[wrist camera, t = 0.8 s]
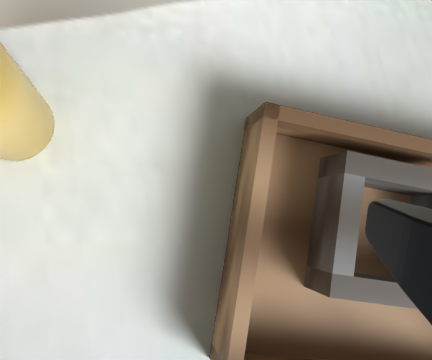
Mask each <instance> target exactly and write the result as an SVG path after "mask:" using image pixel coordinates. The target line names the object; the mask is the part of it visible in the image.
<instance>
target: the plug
mask: <svg viewBox="0 0 432 360" xmlns="http://www.w3.org/2000/svg"><path fill="white" fill-rule="evenodd" d="M53 131H54V117H53V114H52V111H51V109H50V107H49V105H48V104H47V102H46V101H45V100H44V99H43V97H42V96H41V95H40V93H39V92H38V91H37V90H36V88H35V87H34V86H33V84H32V83H31V82H30V81H29V79H28V78H27V77H26V75H25V74H24V73H23V71H22V70H21V69H20V68H19V66H18V65H17V64H16V62H15V61H14V60H13V59H12V57H11V56H10V55H9V53H8V52H7V51H6V50H5V48H4V47H3V46H2V44H1V43H0V159H2V160H6V161H21V160H25V159H29V158H31V157H33V156H35V155H37V154H38V153H40V152H41V151H42V150H43V149H44V148H45V147H46V146H47V145H48V143H49V142H50V140H51V138H52V135H53Z"/></svg>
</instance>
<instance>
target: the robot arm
mask: <svg viewBox="0 0 432 360" xmlns="http://www.w3.org/2000/svg"><path fill="white" fill-rule="evenodd" d="M365 234H366V237H367V239H368V241H369V243H370V244H371V246H372V247H373V248H374V250H375V251H376V253H377V254H378V256H379V257H380V259H381V260H382V262H383V263H384V265H385V266H386V268H387V269H388V271H389V272H390V273H391V275H392V276H393V278H394V279H395V281H396V282H397V284H398V285H399V286H400V288H401V289H402V290H403V291H404V293H405V294H406V295H407V296H408V298H409V299H410V300H411V301H412V302H413V304H414V305H415V306H416V307H417V308H418V310H419V311H420V312H421V313H422V314H423V316H424V317H425V318H426V319H427V320H428V322H429V323H430V324H431V325H432V209H429V208H424V207H420V206H416V205H412V204H407V203H403V202H399V201H395V200H390V199H380V200H375V201H372V202H370V203H369V205H368V210H367V218H366V226H365Z"/></svg>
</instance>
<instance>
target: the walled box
mask: <svg viewBox="0 0 432 360" xmlns="http://www.w3.org/2000/svg"><path fill="white" fill-rule="evenodd" d="M380 199H390V200H395V201H399V202H403V203H407V204H412V205H416V206H420V207H424V208H429V209H432V140H431V139H426V138H422V137H418V136H413V135H409V134H404V133H400V132H396V131H391V130H387V129H382V128H378V127H374V126H369V125H365V124H361V123H356V122H352V121H347V120H343V119H339V118H334V117H330V116H325V115H321V114H317V113H312V112H308V111H304V110H299V109H295V108H290V107H286V106H282V105H277V104H273V103H268V102H265V103H264V104H263V105H261V106H260V107H259V108H258V109H256V110H255V111H254V112H253V113H252V114H250V115H249V116H248V117H247V118H246V123H245V130H244V136H243V143H242V149H241V156H240V162H239V169H238V176H237V182H236V189H235V195H234V202H233V208H232V215H231V221H230V228H229V234H228V241H227V248H226V254H225V261H224V267H223V274H222V280H221V287H220V293H219V300H218V307H217V313H216V320H215V326H214V333H213V339H212V346H211V352H210V360H432V325H431V324H430V323H429V322H428V320H427V319H426V318H425V317H424V316H423V314H422V313H421V312H420V311H419V310H418V308H417V307H416V306H415V305H414V304H413V302H412V301H411V300H410V299H409V298H408V296H407V295H406V294H405V293H404V291H403V290H402V289H401V288H400V286H399V285H398V284H397V282H396V281H395V279H394V278H393V276H392V275H391V273H390V272H389V271H388V269H387V268H386V266H385V265H384V263H383V262H382V260H381V259H380V257H379V256H378V254H377V253H376V251H375V250H374V248H373V247H372V246H371V244H370V243H369V241H368V239H367V237H366V234H365V226H366V218H367V210H368V205H369V203H370V202H372V201H375V200H380Z"/></svg>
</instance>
